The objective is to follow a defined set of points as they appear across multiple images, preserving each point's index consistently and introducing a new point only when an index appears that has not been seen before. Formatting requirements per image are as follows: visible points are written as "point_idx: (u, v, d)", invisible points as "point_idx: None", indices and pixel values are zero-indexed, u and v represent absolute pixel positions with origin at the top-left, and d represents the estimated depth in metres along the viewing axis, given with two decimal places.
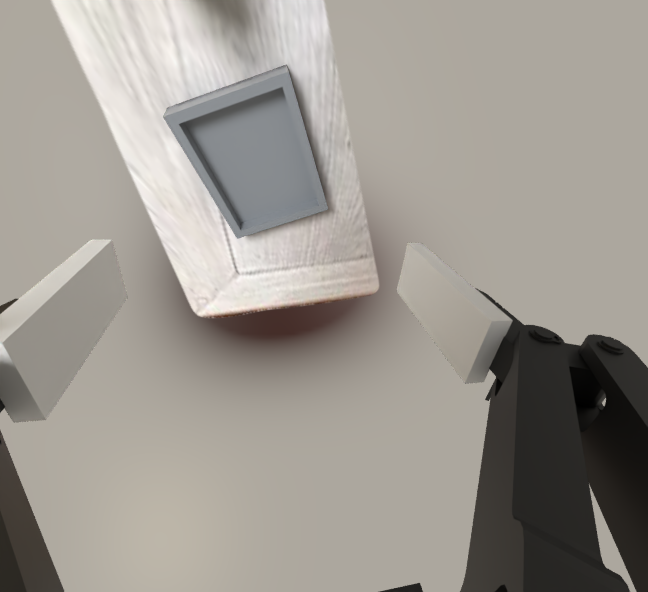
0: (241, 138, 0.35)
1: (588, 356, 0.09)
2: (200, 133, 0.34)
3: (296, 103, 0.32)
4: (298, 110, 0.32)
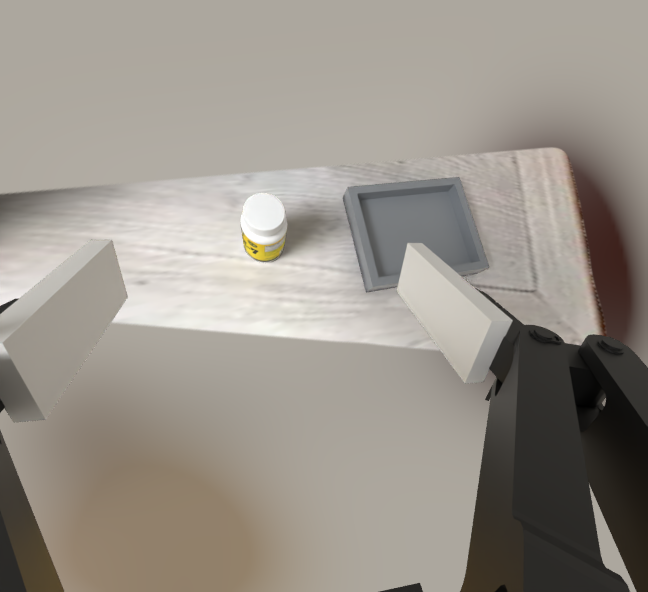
0: (392, 240, 0.40)
1: (588, 356, 0.09)
2: (386, 271, 0.39)
3: (368, 186, 0.39)
4: (373, 185, 0.40)
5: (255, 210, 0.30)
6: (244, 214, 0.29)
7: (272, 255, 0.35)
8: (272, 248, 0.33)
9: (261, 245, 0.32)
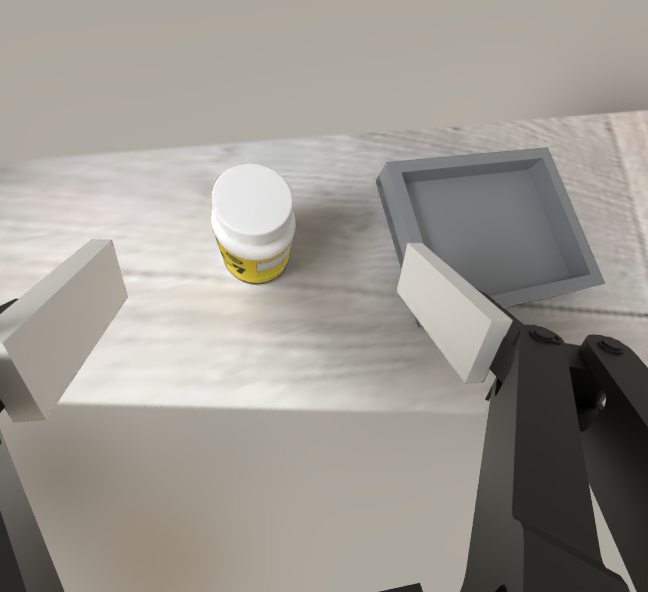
0: (454, 244, 0.26)
1: (588, 356, 0.09)
2: None
3: (418, 160, 0.25)
4: (425, 160, 0.25)
5: (236, 197, 0.15)
6: (214, 204, 0.15)
7: (270, 275, 0.21)
8: (270, 265, 0.19)
9: (250, 261, 0.18)
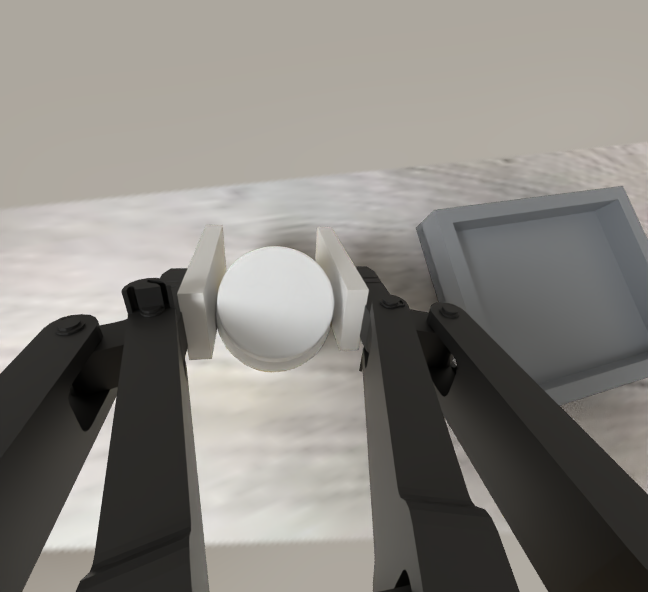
0: (514, 309, 0.21)
1: (435, 326, 0.10)
2: None
3: (472, 207, 0.20)
4: (481, 206, 0.21)
5: (253, 299, 0.10)
6: (221, 313, 0.10)
7: None
8: None
9: None
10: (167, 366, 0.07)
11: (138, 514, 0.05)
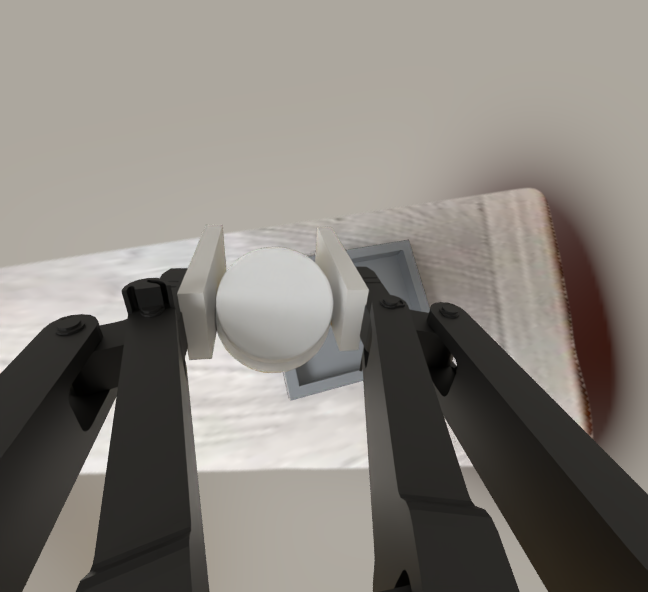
0: None
1: (435, 326, 0.10)
2: (314, 369, 0.31)
3: None
4: None
5: (252, 301, 0.10)
6: (220, 315, 0.10)
7: None
8: None
9: (268, 372, 0.13)
10: (167, 366, 0.07)
11: (138, 514, 0.05)
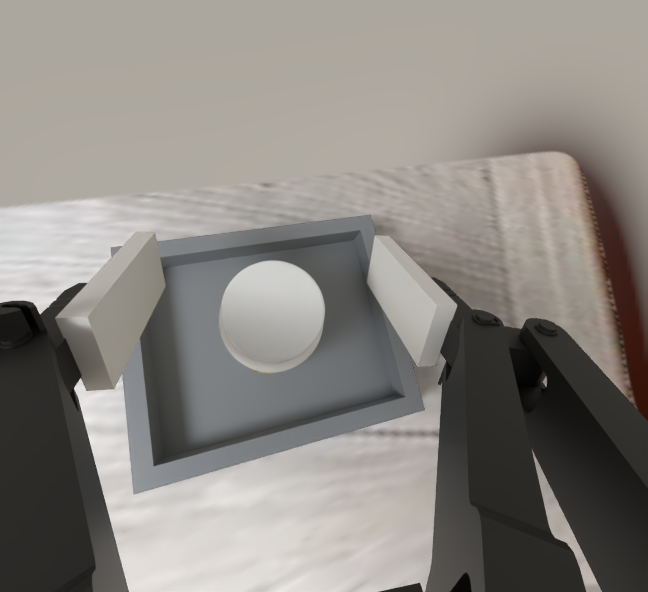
0: (221, 354, 0.19)
1: (528, 340, 0.10)
2: (199, 429, 0.18)
3: (163, 243, 0.18)
4: (175, 241, 0.19)
5: (253, 308, 0.12)
6: (224, 321, 0.12)
7: None
8: None
9: (266, 372, 0.14)
10: (44, 400, 0.06)
11: (23, 573, 0.04)
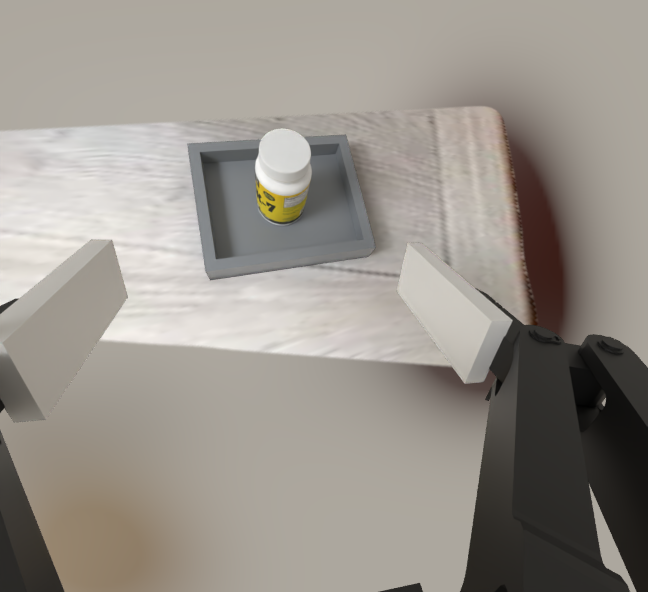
0: (251, 213, 0.31)
1: (588, 356, 0.09)
2: (238, 253, 0.30)
3: (217, 143, 0.31)
4: (224, 142, 0.31)
5: (274, 149, 0.24)
6: (260, 153, 0.23)
7: (291, 215, 0.29)
8: (293, 203, 0.27)
9: (280, 197, 0.26)
10: None
11: None
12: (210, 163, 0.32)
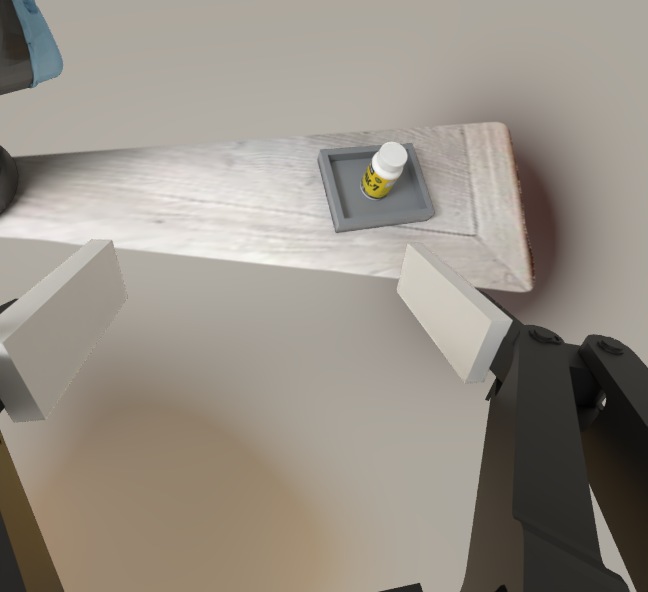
0: (356, 193, 0.50)
1: (588, 356, 0.09)
2: (352, 216, 0.49)
3: (337, 149, 0.50)
4: (341, 149, 0.50)
5: (388, 153, 0.43)
6: (381, 155, 0.43)
7: (385, 192, 0.49)
8: (390, 184, 0.46)
9: (385, 180, 0.45)
10: None
11: None
12: (330, 161, 0.51)
